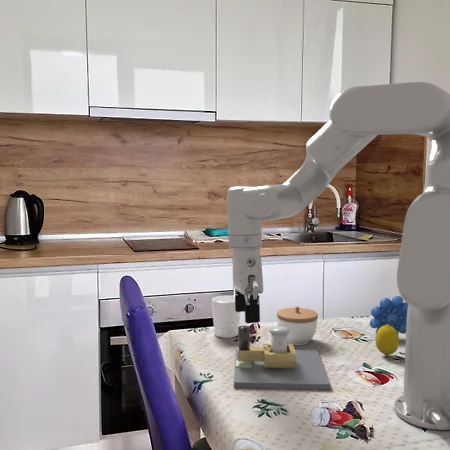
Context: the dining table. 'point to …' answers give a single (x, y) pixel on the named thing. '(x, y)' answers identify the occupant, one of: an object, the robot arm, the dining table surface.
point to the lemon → (387, 340)
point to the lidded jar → (298, 324)
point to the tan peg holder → (263, 352)
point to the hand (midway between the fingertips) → (247, 316)
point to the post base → (282, 377)
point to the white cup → (225, 316)
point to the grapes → (390, 314)
